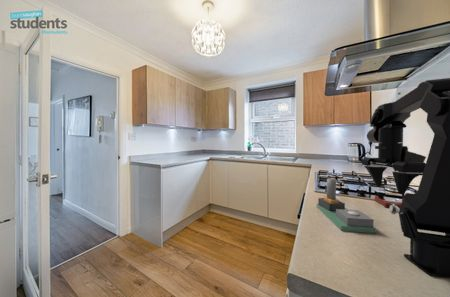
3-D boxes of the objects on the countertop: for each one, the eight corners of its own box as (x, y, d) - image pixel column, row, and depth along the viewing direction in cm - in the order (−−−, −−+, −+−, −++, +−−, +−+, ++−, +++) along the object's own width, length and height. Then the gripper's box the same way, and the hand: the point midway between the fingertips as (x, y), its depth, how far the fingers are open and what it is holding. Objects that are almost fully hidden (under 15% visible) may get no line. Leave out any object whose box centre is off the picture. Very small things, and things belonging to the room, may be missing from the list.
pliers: (377, 212, 70) (377, 206, 70) (374, 199, 86) (374, 194, 86) (417, 220, 63) (418, 213, 63) (406, 205, 79) (406, 199, 79)
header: (344, 210, 67) (344, 203, 67) (330, 211, 66) (330, 204, 66) (331, 204, 74) (331, 197, 74) (318, 204, 73) (318, 198, 73)
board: (375, 233, 53) (375, 228, 53) (340, 230, 55) (341, 225, 54) (340, 208, 74) (341, 204, 74) (316, 206, 75) (316, 203, 75)
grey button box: (373, 227, 54) (373, 218, 53) (347, 225, 55) (347, 216, 55) (358, 217, 61) (358, 209, 61) (335, 215, 62) (335, 208, 62)
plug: (339, 209, 68) (339, 180, 68) (330, 210, 68) (331, 180, 67) (331, 205, 72) (331, 178, 72) (323, 205, 72) (323, 178, 72)
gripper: (453, 142, 44) (451, 201, 45) (394, 143, 63) (393, 184, 63) (405, 142, 46) (403, 198, 46) (361, 143, 64) (360, 183, 65)
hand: (389, 190), depth 55 cm, fingers open, 9 cm apart
